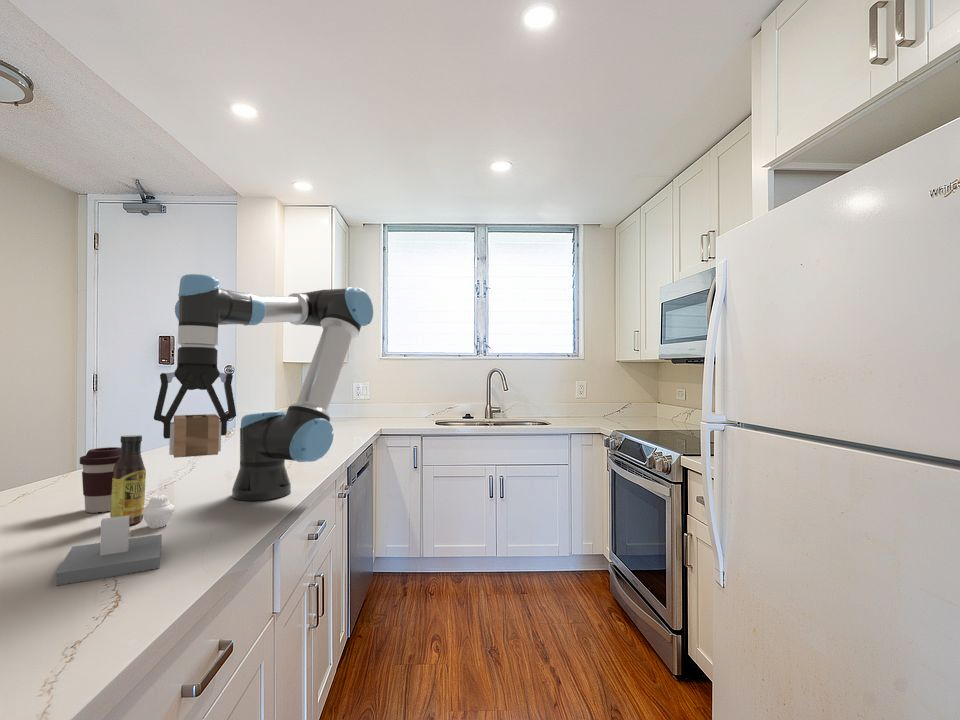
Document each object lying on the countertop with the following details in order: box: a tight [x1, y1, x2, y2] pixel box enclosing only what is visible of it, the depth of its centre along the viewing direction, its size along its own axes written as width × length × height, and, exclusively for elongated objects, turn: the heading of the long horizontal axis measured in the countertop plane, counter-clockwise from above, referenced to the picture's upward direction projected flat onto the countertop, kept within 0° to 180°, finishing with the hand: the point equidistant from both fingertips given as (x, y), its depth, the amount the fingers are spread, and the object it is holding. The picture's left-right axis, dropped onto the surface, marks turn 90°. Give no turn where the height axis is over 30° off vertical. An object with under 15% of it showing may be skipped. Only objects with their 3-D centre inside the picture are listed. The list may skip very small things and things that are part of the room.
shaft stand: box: [55, 515, 163, 587], centre depth 89 cm, size 14×14×8 cm
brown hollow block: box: [173, 413, 220, 459], centre depth 106 cm, size 8×8×8 cm
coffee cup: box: [79, 446, 121, 514], centre depth 123 cm, size 10×10×15 cm
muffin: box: [142, 494, 175, 529], centre depth 110 cm, size 6×6×7 cm
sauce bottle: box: [109, 434, 147, 526], centre depth 113 cm, size 7×6×20 cm
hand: (195, 452), depth 106 cm, fingers closed on brown hollow block, 8 cm apart
